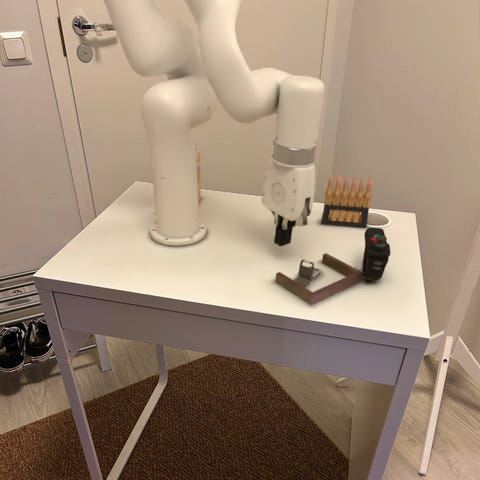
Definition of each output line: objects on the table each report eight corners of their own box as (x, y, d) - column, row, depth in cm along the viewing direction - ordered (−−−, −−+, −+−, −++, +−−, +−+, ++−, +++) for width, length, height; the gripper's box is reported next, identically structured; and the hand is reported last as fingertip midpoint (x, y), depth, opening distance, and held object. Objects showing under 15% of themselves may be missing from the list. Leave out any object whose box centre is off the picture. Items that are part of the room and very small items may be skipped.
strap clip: (308, 268, 96) (310, 250, 94) (322, 273, 95) (324, 254, 92) (288, 286, 90) (289, 267, 88) (302, 291, 89) (304, 272, 87)
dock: (275, 282, 92) (275, 273, 90) (324, 261, 99) (326, 252, 98) (311, 305, 85) (312, 296, 84) (361, 281, 93) (363, 272, 91)
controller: (360, 289, 90) (370, 242, 84) (357, 259, 100) (366, 215, 94) (383, 292, 89) (395, 245, 84) (378, 261, 99) (388, 216, 93)
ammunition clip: (365, 224, 114) (375, 176, 107) (366, 228, 112) (375, 179, 105) (321, 221, 115) (327, 172, 108) (321, 224, 114) (327, 175, 106)
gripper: (252, 144, 87) (245, 233, 99) (308, 169, 78) (293, 264, 90) (281, 138, 91) (272, 225, 102) (338, 162, 82) (321, 254, 93)
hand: (282, 243), depth 96 cm, fingers closed
